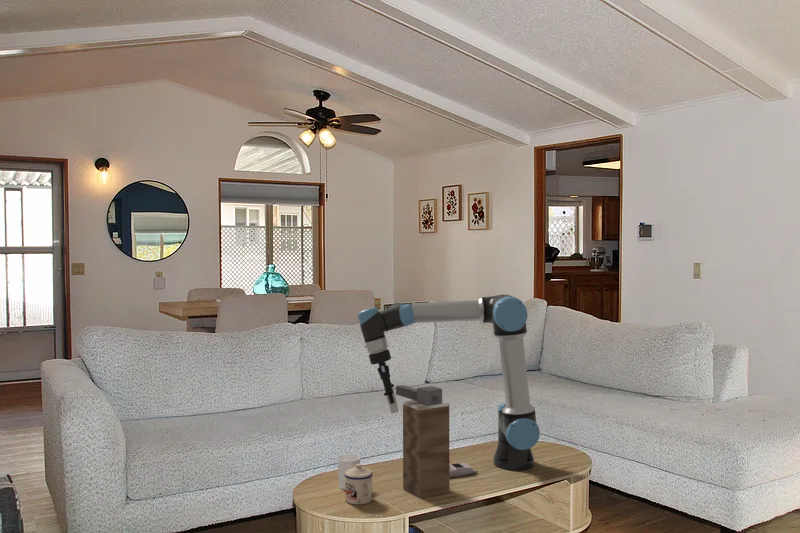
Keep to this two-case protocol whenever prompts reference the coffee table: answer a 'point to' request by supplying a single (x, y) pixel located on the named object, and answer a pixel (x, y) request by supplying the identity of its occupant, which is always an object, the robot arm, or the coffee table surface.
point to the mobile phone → (460, 469)
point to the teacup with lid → (358, 485)
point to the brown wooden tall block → (425, 449)
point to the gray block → (421, 394)
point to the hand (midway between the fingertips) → (394, 409)
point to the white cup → (346, 467)
